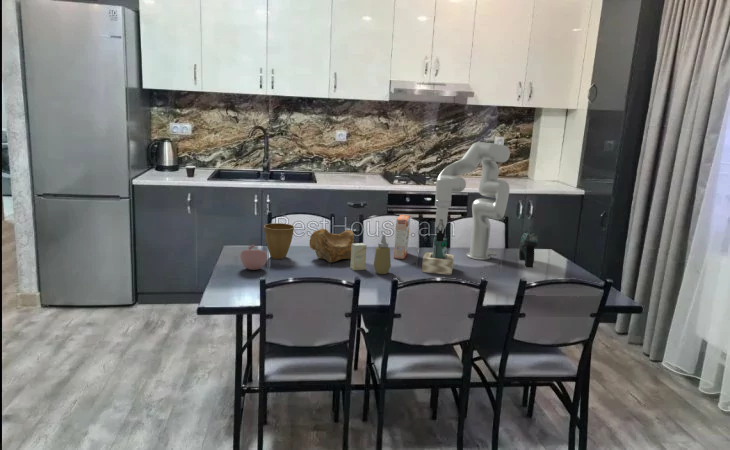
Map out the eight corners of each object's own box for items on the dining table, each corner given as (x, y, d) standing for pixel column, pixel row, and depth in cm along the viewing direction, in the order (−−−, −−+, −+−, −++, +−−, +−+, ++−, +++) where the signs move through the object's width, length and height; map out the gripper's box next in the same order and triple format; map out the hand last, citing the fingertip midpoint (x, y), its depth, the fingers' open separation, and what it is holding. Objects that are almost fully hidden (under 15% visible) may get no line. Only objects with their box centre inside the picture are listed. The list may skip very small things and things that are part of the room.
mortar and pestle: (266, 265, 259) (267, 242, 257) (266, 273, 248) (267, 248, 245) (240, 265, 257) (240, 242, 255) (239, 273, 246) (239, 248, 243)
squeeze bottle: (384, 276, 252) (387, 238, 248) (369, 272, 256) (371, 235, 252) (393, 272, 259) (395, 235, 255) (378, 269, 263) (380, 232, 259)
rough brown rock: (314, 266, 264) (317, 237, 260) (306, 255, 279) (309, 227, 275) (360, 266, 272) (363, 237, 268) (349, 254, 287) (352, 227, 283)
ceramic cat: (535, 268, 277) (540, 230, 273) (523, 268, 277) (527, 229, 273) (526, 258, 296) (530, 222, 292) (514, 257, 297) (518, 221, 292)
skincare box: (353, 270, 258) (355, 245, 256) (349, 268, 262) (350, 243, 260) (365, 269, 261) (367, 244, 259) (361, 266, 265) (362, 242, 262)
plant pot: (270, 262, 265) (270, 230, 261) (259, 254, 277) (259, 224, 274) (298, 259, 272) (299, 228, 269) (286, 252, 285) (287, 222, 281)
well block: (452, 268, 270) (454, 254, 269) (451, 274, 259) (452, 261, 258) (424, 265, 273) (425, 252, 272) (421, 271, 262) (422, 258, 260)
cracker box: (404, 259, 282) (407, 219, 277) (393, 258, 283) (395, 218, 279) (408, 253, 295) (410, 215, 291) (397, 252, 296) (399, 214, 292)
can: (445, 270, 264) (448, 239, 260) (433, 269, 263) (435, 239, 260) (442, 266, 269) (445, 236, 266) (430, 266, 269) (432, 236, 266)
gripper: (436, 200, 268) (434, 233, 272) (433, 206, 252) (431, 242, 256) (452, 201, 267) (449, 235, 271) (449, 207, 250) (447, 243, 254)
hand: (440, 238), depth 263 cm, fingers open, 9 cm apart
